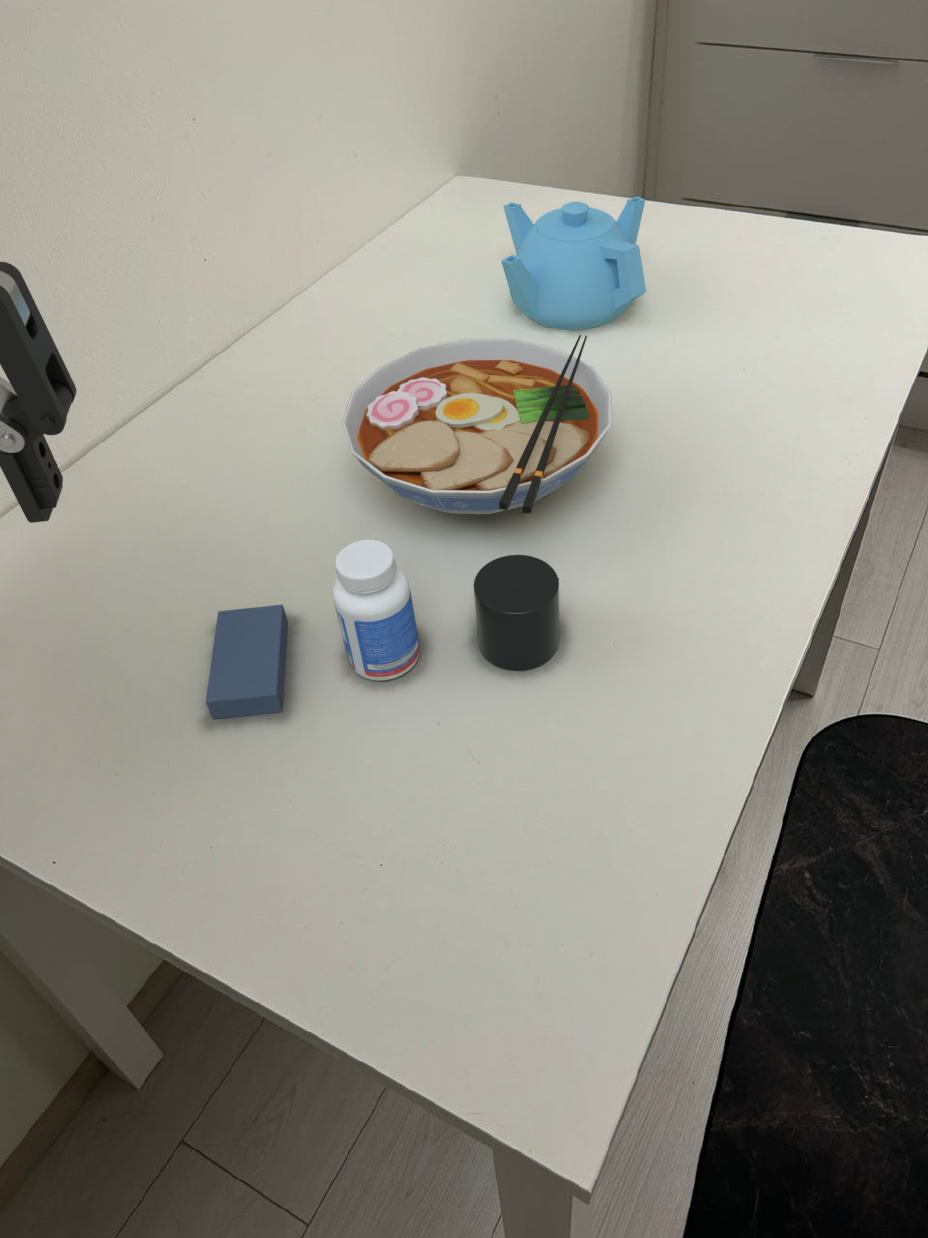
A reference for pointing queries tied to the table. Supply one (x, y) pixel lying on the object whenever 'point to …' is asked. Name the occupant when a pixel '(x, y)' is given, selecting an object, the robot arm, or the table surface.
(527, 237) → the teapot
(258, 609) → the blue rectangular block
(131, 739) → the table surface
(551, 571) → the black cylinder
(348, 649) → the pill bottle
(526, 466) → the ramen bowl
